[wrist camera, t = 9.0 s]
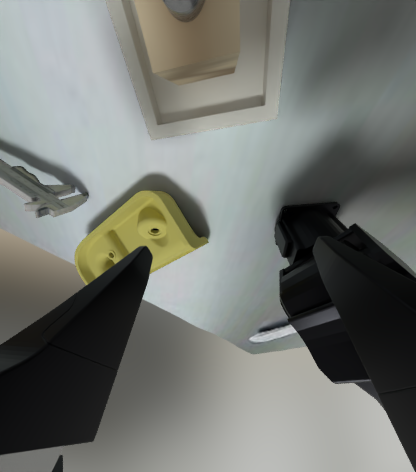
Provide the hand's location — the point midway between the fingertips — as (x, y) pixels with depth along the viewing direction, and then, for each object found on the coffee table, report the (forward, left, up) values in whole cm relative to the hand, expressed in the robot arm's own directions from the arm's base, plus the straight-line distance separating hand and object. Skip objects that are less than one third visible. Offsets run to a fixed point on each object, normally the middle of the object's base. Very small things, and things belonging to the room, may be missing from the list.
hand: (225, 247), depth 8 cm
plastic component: (+14, +9, -12) cm, 21 cm away
